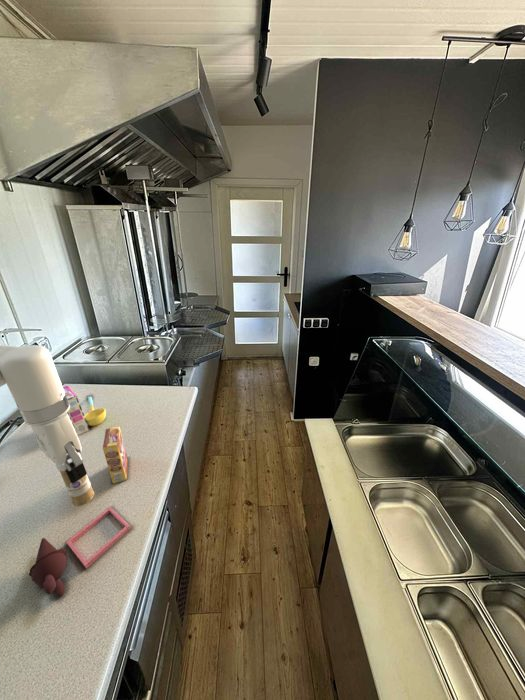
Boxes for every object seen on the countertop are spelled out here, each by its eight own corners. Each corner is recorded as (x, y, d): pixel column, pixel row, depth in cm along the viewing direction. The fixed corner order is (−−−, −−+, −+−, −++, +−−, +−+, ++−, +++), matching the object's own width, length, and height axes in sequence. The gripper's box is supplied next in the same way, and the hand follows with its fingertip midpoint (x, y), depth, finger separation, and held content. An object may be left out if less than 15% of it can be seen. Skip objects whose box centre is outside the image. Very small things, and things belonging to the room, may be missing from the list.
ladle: (85, 433, 108) (79, 420, 107) (83, 410, 130) (78, 399, 129) (110, 422, 113) (105, 410, 111) (104, 402, 135) (99, 391, 133)
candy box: (128, 481, 90) (117, 444, 83) (113, 485, 89) (100, 448, 82) (129, 460, 98) (119, 425, 91) (115, 463, 96) (104, 428, 90)
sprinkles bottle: (76, 510, 65) (57, 468, 59) (70, 498, 68) (51, 456, 62) (98, 497, 68) (81, 456, 62) (91, 486, 71) (75, 445, 65)
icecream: (16, 546, 67) (25, 608, 57) (50, 521, 70) (64, 576, 61) (35, 555, 71) (47, 614, 62) (66, 531, 74) (82, 584, 65)
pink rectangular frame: (87, 570, 68) (84, 566, 67) (68, 546, 73) (65, 541, 72) (131, 530, 76) (129, 525, 75) (111, 511, 81) (110, 506, 80)
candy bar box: (91, 430, 111) (77, 395, 103) (77, 437, 108) (61, 402, 100) (82, 417, 118) (68, 384, 110) (68, 423, 115) (53, 390, 107)
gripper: (6, 402, 58) (38, 466, 66) (42, 435, 49) (73, 505, 57) (48, 385, 63) (72, 446, 71) (86, 412, 54) (110, 479, 62)
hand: (73, 472), depth 64 cm, fingers closed on sprinkles bottle, 4 cm apart
